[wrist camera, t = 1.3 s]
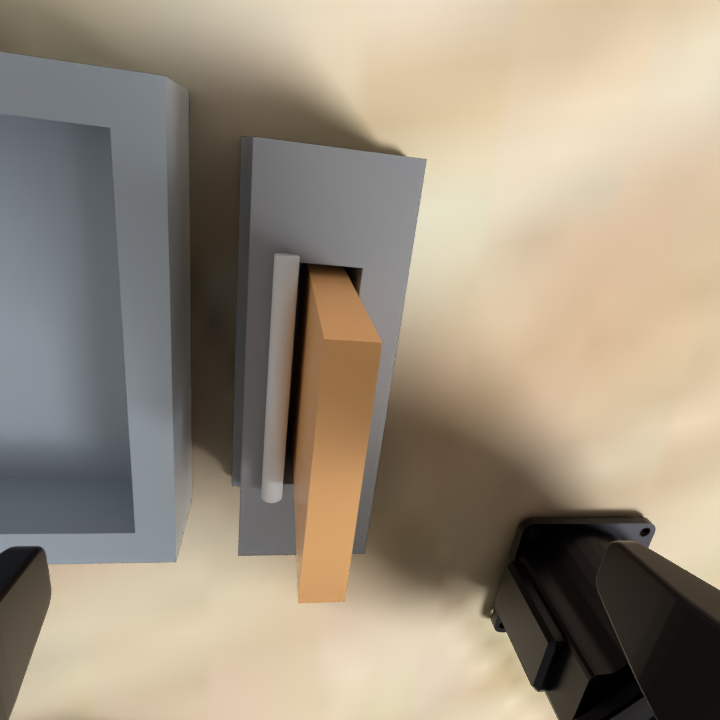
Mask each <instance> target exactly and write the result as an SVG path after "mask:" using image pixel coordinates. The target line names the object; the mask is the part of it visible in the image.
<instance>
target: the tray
mask: <svg viewBox="0 0 720 720" xmlns="http://www.w3.org/2000/svg"><path fill="white" fill-rule="evenodd" d="M191 501H192V435H191V313H190V192H189V90H188V89H186V88H184V87H183V86H181V85H179V84H178V83H176V82H174V81H172V80H171V79H169V78H167V77H166V76H162V75H156V74H149V73H142V72H135V71H129V70H122V69H115V68H108V67H101V66H95V65H88V64H81V63H74V62H67V61H61V60H54V59H47V58H40V57H34V56H27V55H20V54H13V53H6V52H0V553H1V552H3V551H4V550H6V549H8V548H10V547H14V546H40V547H42V548H44V550H45V552H46V556H47V563H48V564H93V563H153V562H176V561H177V557H178V553H179V549H180V545H181V541H182V537H183V533H184V529H185V525H186V521H187V517H188V513H189V509H190V505H191Z"/></svg>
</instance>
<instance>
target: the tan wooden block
mask: <svg viewBox="0 0 720 720" xmlns="http://www.w3.org/2000/svg"><path fill="white" fill-rule="evenodd" d="M381 350H382V341H381V339H380V337H379V335H378V333H377V331H376V329H375V327H374V325H373V323H372V321H371V319H370V317H369V315H368V314H367V312H366V310H365V308H364V306H363V304H362V302H361V300H360V298H359V296H358V294H357V292H356V290H355V288H354V286H353V284H352V282H351V280H350V278H349V277H348V275H347V273H346V271H345V269H344V267H343V266H334V265H323V264H311V263H303V270H302V283H301V296H300V309H299V322H298V335H297V348H296V361H295V374H294V387H293V400H292V413H291V426H292V453H293V479H294V505H295V531H296V557H297V583H298V603H321V602H345V597H346V590H347V583H348V576H349V569H350V563H351V556H352V549H353V542H354V535H355V528H356V521H357V514H358V508H359V501H360V494H361V487H362V480H363V473H364V466H365V459H366V453H367V446H368V439H369V432H370V425H371V418H372V411H373V405H374V398H375V391H376V384H377V377H378V370H379V363H380V356H381Z"/></svg>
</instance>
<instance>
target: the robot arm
mask: <svg viewBox="0 0 720 720" xmlns="http://www.w3.org/2000/svg"><path fill="white" fill-rule="evenodd" d="M531 529H532V530H531ZM529 530H531V531H529ZM654 533H655V526H654V525H653V524H652V523H651V522H650V521H649V520H648V519H647V518H644V517H575V518H527V519H525V520H523V521H522V522H521V523H520V525H519V527H518V530H517V533H516V537H515V540H514V543H513V547H512V550H511V553H510V557H509V560H508V563H507V565H506V566H505V569H504V573H503V576H502V579H501V583H500V586H499V590H498V593H497V596H496V600H495V603H494V606H495V607H494V610H493V614H492V617H491V622H492V624H493V626H494V628H495V630H496V631H498V632H507V634H508V636H509V638H510V641H511V643H512V645H513V647H514V649H515V651H516V654H517V656H518V658H519V660H520V662H521V664H522V667H523V669H524V671H525V673H526V675H527V677H528V679H529V682H530V684H531V686H532V687H533V688H534V689H535V690H536V691H538V692H542V691H545V693H546V695H547V697H548V700H549V702H550V704H551V706H552V708H553V710H554V712H555V714H556V716H557V718H558V720H720V590H718V589H717V588H715V587H713V586H712V585H710V584H708V583H706V582H705V581H703V580H701V579H700V578H698V577H696V576H695V575H693V574H691V573H689V572H688V571H686V570H684V569H683V568H681V567H679V566H678V565H676V564H674V563H673V562H671V561H669V560H667V559H666V558H664V557H662V556H661V555H659V554H657V553H656V552H654V551H652V550H650V549H649V548H648V547H649V545H650V542H651V540H652V538H653V535H654ZM50 599H51V583H50V576H49V570H48V563H47V556H46V552H45V550H44V548H42V547H40V546H14V547H10V548H8V549H6V550H4V551H3V552H1V553H0V720H9V718H10V715H11V712H12V710H13V707H14V704H15V702H16V699H17V696H18V693H19V690H20V687H21V685H22V682H23V679H24V676H25V673H26V670H27V667H28V665H29V662H30V659H31V656H32V653H33V650H34V647H35V645H36V642H37V639H38V636H39V633H40V630H41V627H42V625H43V622H44V619H45V616H46V613H47V610H48V607H49V604H50Z"/></svg>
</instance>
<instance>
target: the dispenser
mask: <svg viewBox="0 0 720 720" xmlns="http://www.w3.org/2000/svg"><path fill="white" fill-rule="evenodd" d="M426 160H427V159H422V158H414V157H406V156H399V155H391V154H383V153H376V152H368V151H360V150H353V149H345V148H337V147H330V146H322V145H315V144H307V143H299V142H292V141H284V140H276V139H269V138H261V137H246V136H241V167H240V203H239V240H238V276H237V312H236V348H235V384H234V420H233V456H232V486H241V492H240V520H239V547H238V556H254V555H296V531H295V505H294V479H293V453H292V426H291V413H292V400H293V387H294V374H295V361H296V348H297V335H298V322H299V309H300V296H301V283H302V270H303V263H311V264H323V265H334V266H343V267H344V269H345V271H346V273H347V275H348V277H349V278H350V280H351V282H352V284H353V286H354V288H355V290H356V292H357V294H358V296H359V298H360V300H361V302H362V304H363V306H364V308H365V310H366V312H367V314H368V315H369V317H370V319H371V321H372V323H373V325H374V327H375V329H376V331H377V333H378V335H379V337H380V339H381V341H382V350H381V356H380V363H379V370H378V377H377V384H376V391H375V398H374V405H373V411H372V418H371V425H370V432H369V439H368V446H367V453H366V459H365V466H364V473H363V480H362V487H361V494H360V501H359V508H358V514H357V521H356V528H355V535H354V542H353V549H352V554H364V553H365V547H366V541H367V534H368V528H369V521H370V515H371V509H372V502H373V496H374V490H375V483H376V477H377V471H378V464H379V458H380V452H381V445H382V439H383V433H384V426H385V420H386V414H387V407H388V401H389V395H390V388H391V382H392V376H393V369H394V363H395V357H396V350H397V344H398V338H399V331H400V325H401V319H402V312H403V306H404V300H405V293H406V287H407V281H408V274H409V268H410V262H411V255H412V249H413V243H414V236H415V230H416V224H417V217H418V211H419V204H420V198H421V192H422V185H423V179H424V173H425V166H426Z"/></svg>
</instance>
